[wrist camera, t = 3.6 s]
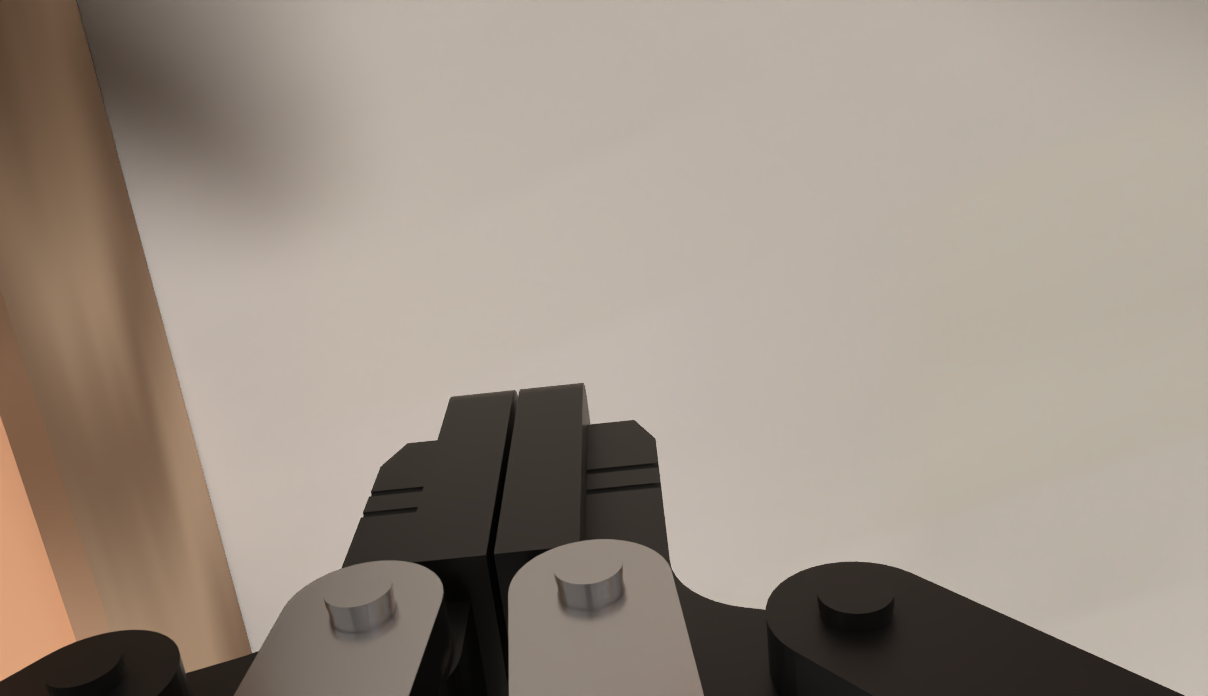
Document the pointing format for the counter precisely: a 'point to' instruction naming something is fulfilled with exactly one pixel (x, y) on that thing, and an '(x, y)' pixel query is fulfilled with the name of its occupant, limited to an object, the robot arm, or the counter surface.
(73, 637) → the terracotta tile
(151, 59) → the counter surface
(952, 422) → the counter surface
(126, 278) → the panel
